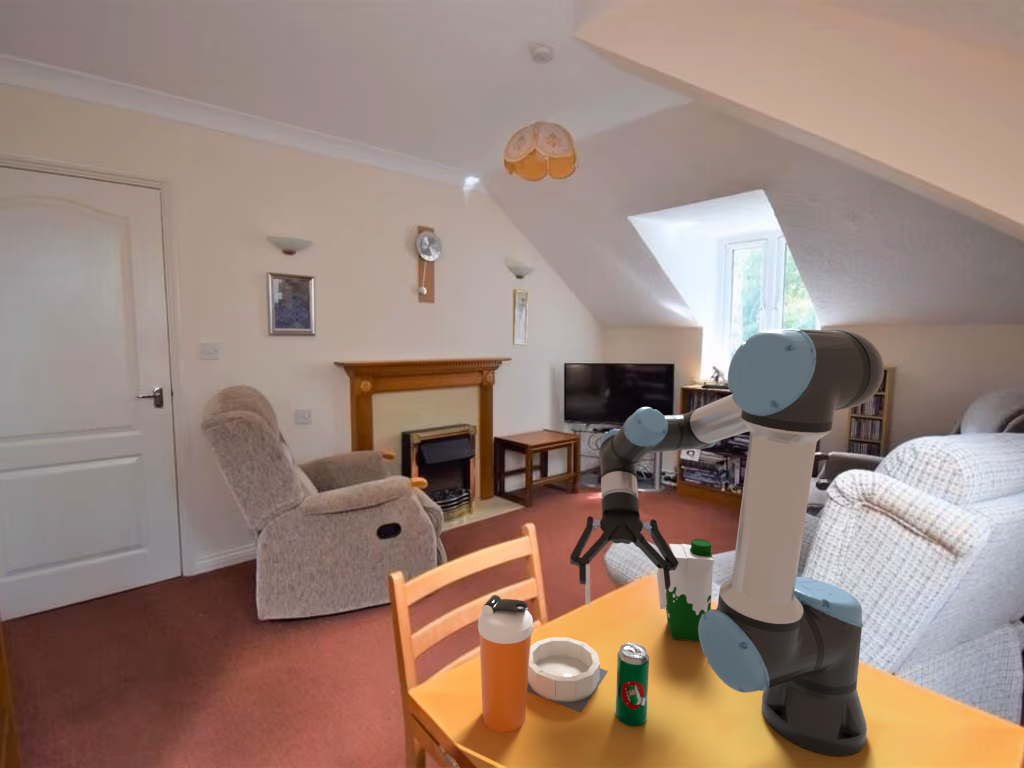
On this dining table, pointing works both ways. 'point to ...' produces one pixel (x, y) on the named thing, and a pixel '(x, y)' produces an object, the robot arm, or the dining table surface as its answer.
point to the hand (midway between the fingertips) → (625, 604)
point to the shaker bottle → (504, 662)
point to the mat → (577, 704)
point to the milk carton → (689, 588)
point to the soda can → (632, 684)
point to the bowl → (563, 669)
